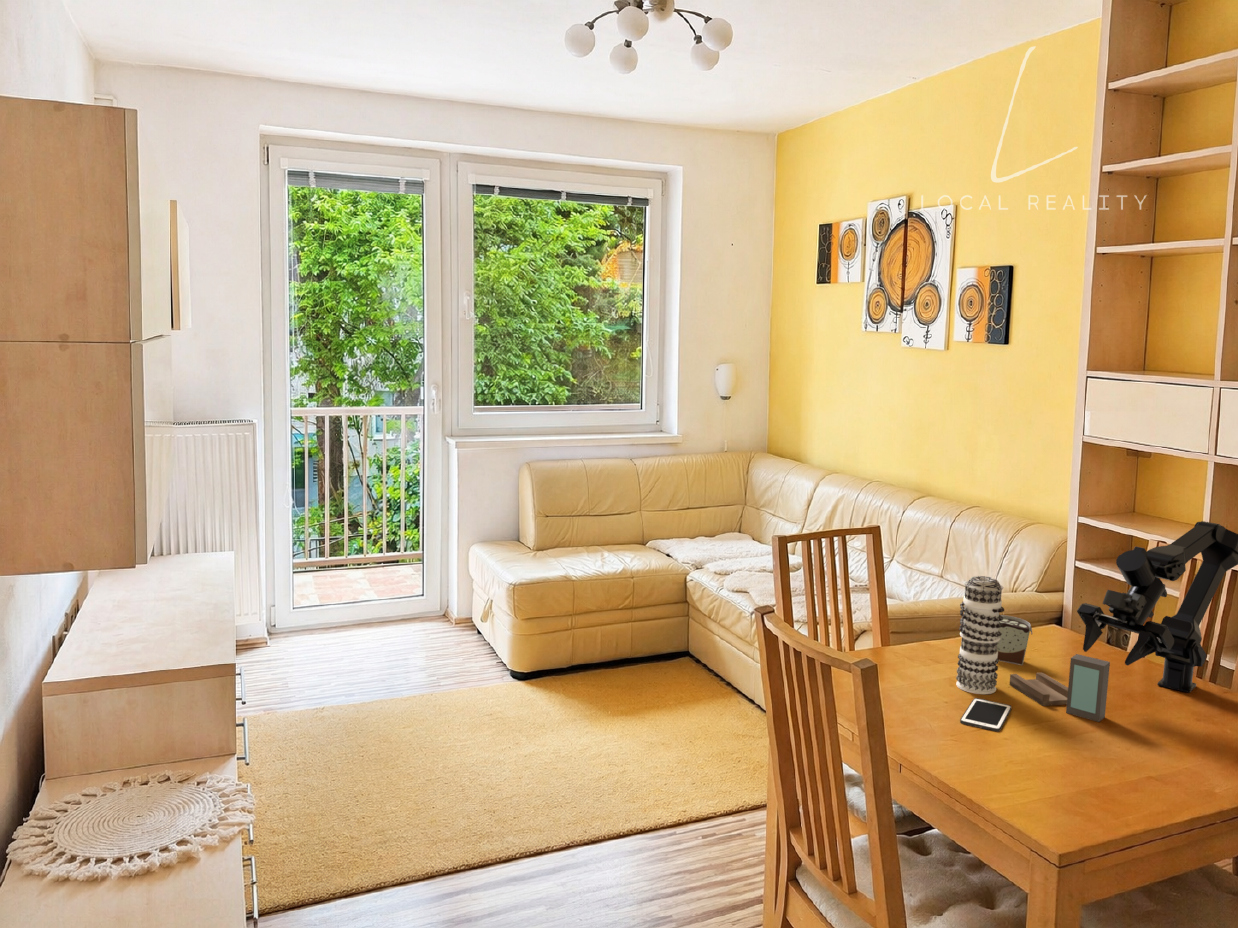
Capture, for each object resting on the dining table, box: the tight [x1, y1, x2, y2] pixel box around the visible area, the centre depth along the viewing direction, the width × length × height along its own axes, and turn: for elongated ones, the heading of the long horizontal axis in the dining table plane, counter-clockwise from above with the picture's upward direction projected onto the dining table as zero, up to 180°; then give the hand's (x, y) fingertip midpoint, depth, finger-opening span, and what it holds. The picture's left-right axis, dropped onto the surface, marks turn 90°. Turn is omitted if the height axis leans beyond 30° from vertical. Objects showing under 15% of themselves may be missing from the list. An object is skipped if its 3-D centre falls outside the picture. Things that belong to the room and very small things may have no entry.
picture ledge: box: [1009, 672, 1068, 707], centre depth 206 cm, size 8×12×2 cm, turn 11°
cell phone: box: [959, 697, 1012, 733], centre depth 194 cm, size 8×15×1 cm, turn 148°
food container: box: [997, 614, 1033, 666], centre depth 228 cm, size 12×6×10 cm, turn 58°
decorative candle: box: [955, 575, 1005, 695], centre depth 208 cm, size 9×9×25 cm
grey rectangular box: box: [1065, 653, 1111, 723], centre depth 194 cm, size 4×6×12 cm, turn 45°
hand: (1104, 657), depth 196 cm, fingers open, 9 cm apart
